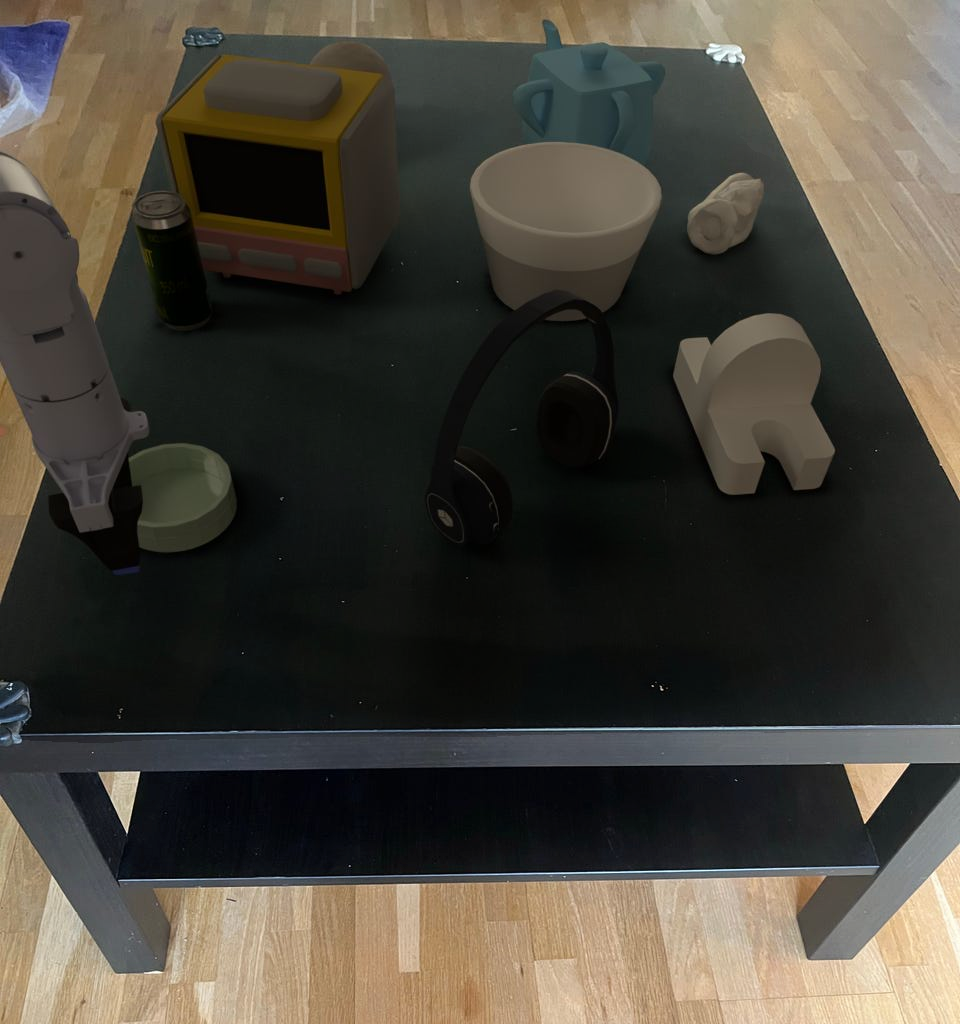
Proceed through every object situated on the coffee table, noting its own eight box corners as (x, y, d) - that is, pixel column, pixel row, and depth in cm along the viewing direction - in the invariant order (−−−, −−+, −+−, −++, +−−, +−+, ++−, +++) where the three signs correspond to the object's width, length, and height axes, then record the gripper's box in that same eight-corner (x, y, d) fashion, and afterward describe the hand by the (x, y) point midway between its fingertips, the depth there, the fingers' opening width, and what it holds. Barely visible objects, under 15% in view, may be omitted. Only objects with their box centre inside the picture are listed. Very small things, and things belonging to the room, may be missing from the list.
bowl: (524, 220, 112) (530, 124, 104) (674, 270, 106) (693, 174, 98) (433, 297, 102) (432, 198, 93) (594, 358, 96) (608, 258, 87)
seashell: (388, 174, 132) (344, 56, 127) (441, 141, 121) (394, 10, 115) (296, 206, 125) (245, 84, 120) (343, 174, 114) (289, 38, 109)
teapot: (666, 153, 123) (687, 37, 112) (620, 210, 114) (638, 89, 103) (537, 122, 128) (545, 7, 117) (482, 174, 118) (486, 55, 108)
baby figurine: (733, 204, 116) (786, 159, 109) (733, 289, 113) (788, 249, 105) (677, 175, 112) (728, 126, 105) (676, 262, 109) (729, 218, 102)
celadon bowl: (121, 563, 77) (110, 538, 75) (112, 481, 83) (102, 454, 81) (245, 539, 79) (238, 513, 77) (228, 460, 85) (221, 433, 83)
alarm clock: (185, 284, 102) (141, 101, 88) (241, 211, 112) (209, 35, 97) (362, 312, 100) (347, 128, 85) (403, 234, 109) (396, 58, 95)
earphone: (472, 574, 78) (477, 389, 63) (413, 531, 80) (404, 344, 66) (624, 457, 87) (658, 271, 72) (566, 422, 90) (587, 237, 75)
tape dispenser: (721, 495, 84) (751, 395, 76) (670, 370, 95) (691, 270, 86) (826, 487, 85) (867, 387, 76) (763, 364, 96) (793, 264, 87)
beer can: (204, 297, 101) (179, 184, 91) (220, 324, 98) (195, 211, 88) (154, 310, 99) (122, 196, 90) (168, 338, 96) (137, 223, 87)
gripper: (137, 437, 54) (189, 594, 65) (119, 296, 62) (168, 455, 73) (5, 459, 53) (81, 616, 63) (5, 312, 61) (72, 472, 72)
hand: (121, 532), depth 68 cm, fingers closed on eraser, 6 cm apart
